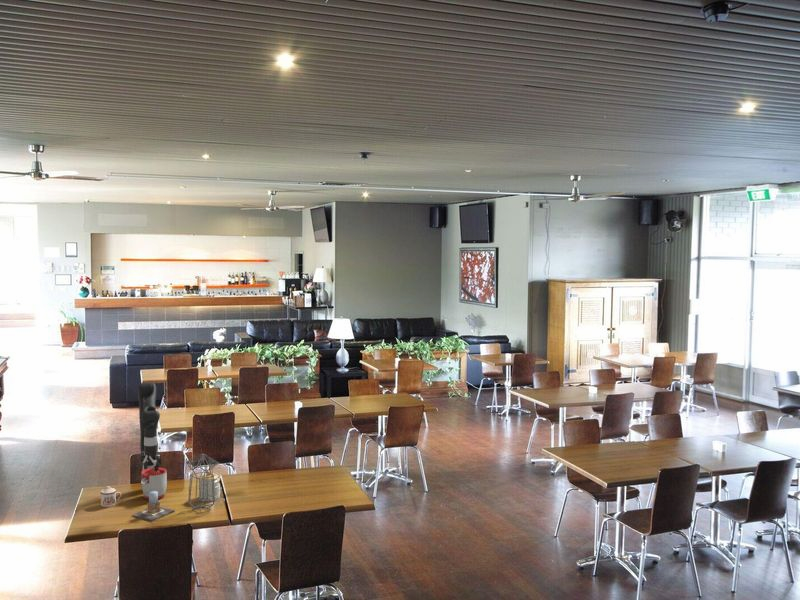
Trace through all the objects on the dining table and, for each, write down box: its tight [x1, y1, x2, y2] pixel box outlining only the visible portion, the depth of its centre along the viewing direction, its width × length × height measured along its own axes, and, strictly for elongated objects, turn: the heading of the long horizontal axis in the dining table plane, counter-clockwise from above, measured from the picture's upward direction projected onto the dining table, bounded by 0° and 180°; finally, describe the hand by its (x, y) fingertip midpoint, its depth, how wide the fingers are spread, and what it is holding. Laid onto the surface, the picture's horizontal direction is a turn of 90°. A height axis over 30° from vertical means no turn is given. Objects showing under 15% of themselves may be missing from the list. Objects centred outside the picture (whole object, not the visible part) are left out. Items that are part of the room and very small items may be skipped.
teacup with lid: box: [100, 485, 122, 508], centre depth 453 cm, size 12×9×12 cm
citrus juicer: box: [140, 467, 168, 501], centre depth 466 cm, size 16×17×20 cm
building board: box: [131, 506, 176, 522], centre depth 439 cm, size 18×16×2 cm
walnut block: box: [146, 500, 161, 514], centre depth 439 cm, size 5×5×6 cm
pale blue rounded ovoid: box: [148, 491, 159, 504], centre depth 438 cm, size 5×5×6 cm
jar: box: [199, 470, 221, 502], centre depth 467 cm, size 13×13×18 cm
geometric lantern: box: [185, 453, 220, 514], centre depth 446 cm, size 16×16×35 cm
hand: (150, 470), depth 439 cm, fingers open, 8 cm apart
